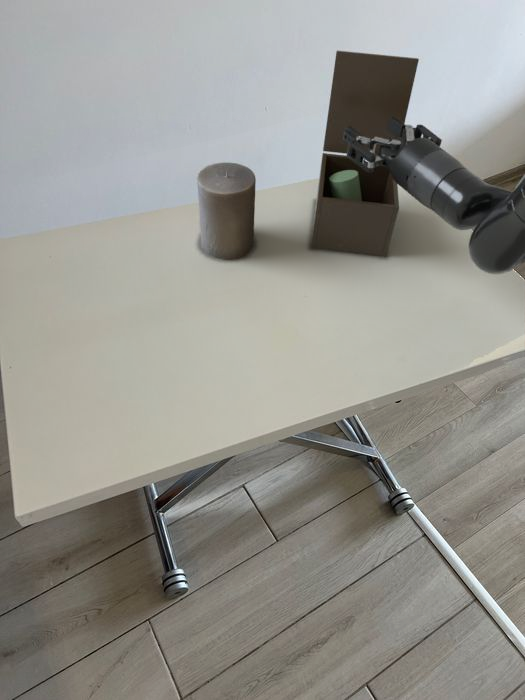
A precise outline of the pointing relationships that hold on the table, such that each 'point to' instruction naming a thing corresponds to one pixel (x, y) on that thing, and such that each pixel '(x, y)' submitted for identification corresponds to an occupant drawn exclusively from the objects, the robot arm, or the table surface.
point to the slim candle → (345, 185)
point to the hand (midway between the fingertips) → (367, 127)
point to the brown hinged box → (355, 210)
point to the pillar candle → (226, 209)
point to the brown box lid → (367, 96)
